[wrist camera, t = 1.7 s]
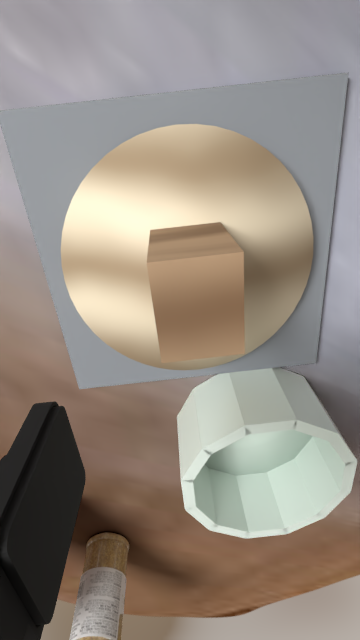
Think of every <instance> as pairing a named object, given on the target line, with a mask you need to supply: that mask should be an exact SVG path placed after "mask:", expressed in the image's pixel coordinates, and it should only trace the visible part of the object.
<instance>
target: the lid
mask: <svg viewBox="0 0 360 640" xmlns="http://www.w3.org/2000/svg"><path fill="white" fill-rule="evenodd" d="M312 258H313V230H312V222H311V218H310V214H309V210H308V206H307V204H306V201H305V199H304V196H303V194H302V192H301V189H300V188H299V186H298V185H297V183H296V181H295V180H294V178H293V176H292V175H291V174H290V172H289V171H288V170H287V169H286V167H285V166H284V165H283V164H282V163H281V161H279V160H278V159H277V158H276V157H275V156H274V155H273V154H272V153H270V152H269V151H268V150H267V149H266V148H264V147H263V146H261V145H260V144H258V143H256V142H255V141H253V140H252V139H250V138H248V137H245V136H243V135H241V134H239V133H237V132H234V131H231V130H227V129H224V128H220V127H217V126H210V125H201V124H178V125H171V126H166V127H161V128H156V129H153V130H150V131H147V132H144V133H142V134H139V135H137V136H135V137H133V138H131V139H129V140H127V141H125V142H123V143H122V144H120V145H119V146H117V147H116V148H115V149H113V150H112V151H110V152H109V153H108V154H106V155H105V156H104V157H103V158H102V159H101V160H100V161H99V162H98V163H97V164H96V165H95V166H94V167H93V168H92V169H91V170H90V172H89V173H88V174H87V176H86V177H85V178H84V180H83V181H82V182H81V184H80V185H79V187H78V189H77V191H76V193H75V195H74V196H73V198H72V200H71V203H70V206H69V208H68V211H67V214H66V217H65V221H64V226H63V230H62V239H61V263H62V270H63V275H64V280H65V284H66V286H67V289H68V292H69V295H70V298H71V300H72V302H73V304H74V306H75V308H76V310H77V311H78V313H79V314H80V316H81V317H82V319H83V320H84V322H85V323H86V324H87V325H88V326H89V328H90V329H91V330H92V331H93V332H94V333H95V334H96V335H97V336H98V337H99V338H100V339H101V340H102V341H103V342H105V343H106V344H107V345H109V346H110V347H111V348H113V349H114V350H116V351H117V352H119V353H121V354H123V355H124V356H126V357H128V358H130V359H132V360H135V361H137V362H140V363H142V364H146V365H149V366H153V367H157V368H163V369H169V370H199V369H205V368H211V367H215V366H218V365H222V364H225V363H228V362H231V361H233V360H236V359H238V358H240V357H242V356H244V355H246V354H248V353H250V352H251V351H253V350H254V349H256V348H257V347H259V346H260V345H262V344H263V343H264V342H266V341H267V340H268V339H269V338H270V337H271V336H273V335H274V334H275V333H276V332H277V331H278V330H279V328H280V327H281V326H282V325H283V324H284V323H285V322H286V320H287V319H288V318H289V316H290V315H291V314H292V312H293V311H294V309H295V307H296V306H297V304H298V302H299V300H300V299H301V296H302V294H303V292H304V289H305V287H306V285H307V281H308V278H309V274H310V271H311V265H312Z"/></svg>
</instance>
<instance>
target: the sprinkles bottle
mask: <svg viewBox="0 0 360 640" xmlns="http://www.w3.org/2000/svg"><path fill="white" fill-rule="evenodd" d="M128 551H129V543H128V541H127V539H126V538H124V537H123V536H121V535H118V534H115V533H101V534H97V535H95V536H93V537H91V538H90V539H89V541H88V543H87V545H86V557H85V563H84V569H83V574H82V576H81V580H80V585H79V591H78V596H77V602H76V607H75V613H74V619H73V624H72V629H71V635H70V640H121V629H122V619H123V614H124V602H125V590H126V568H127V556H128Z"/></svg>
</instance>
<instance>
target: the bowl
mask: <svg viewBox="0 0 360 640" xmlns="http://www.w3.org/2000/svg"><path fill="white" fill-rule="evenodd" d="M177 425H178V441H179V458H180V475H181V485H182V492H183V499H184V506H185V510H186V511H187V512H188V513H189V514H191V515H192V516H193V517H194V518H195V519H197V520H198V521H199V522H200V523H201V524H203V525H204V526H205V527H206V528H207V529H209V530H211V531H215V532H219V533H224V534H228V535H233V536H237V537H242V538H255V537H265V536H274V535H283V534H288V533H291V532H293V531H295V530H297V529H300V528H302V527H304V526H307V525H309V524H311V523H313V522H316V521H318V520H320V519H323V518H325V517H326V516H327V515H328V514H329V513H330V512H331V511H332V510H333V509H334V508H335V507H336V506H337V505H338V504H339V503H340V502H341V501H342V500H343V499H344V498H345V497H346V496H347V495H348V494H349V493H350V492H351V489H352V484H353V480H354V475H355V470H356V466H357V459H356V458H355V456H354V454H353V453H352V451H351V450H350V448H349V446H348V445H347V443H346V442H345V440H344V438H343V437H342V435H341V434H340V432H339V430H338V429H337V427H336V425H335V424H334V422H333V421H332V419H331V417H330V416H329V414H328V413H327V411H326V409H325V408H324V406H323V405H322V403H321V401H320V400H319V398H318V397H317V395H316V394H315V392H314V391H313V389H312V388H311V386H310V385H309V384H308V382H307V381H306V379H305V378H304V376H302V375H299V374H296V373H293V372H291V371H288V370H285V369H283V368H280V367H277V368H268V369H259V370H249V371H240V372H231V373H222V374H217V375H215V376H214V377H212V378H210V379H209V380H207V381H205V382H203V383H202V384H200V385H198V386H197V387H195V388H194V389H193V390H192V392H191V394H190V395H189V397H188V399H187V401H186V402H185V404H184V406H183V407H182V409H181V411H180V412H179V414H178V416H177Z"/></svg>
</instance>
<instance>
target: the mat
mask: <svg viewBox="0 0 360 640" xmlns="http://www.w3.org/2000/svg"><path fill="white" fill-rule="evenodd" d="M347 82H348V73H340V74H331V75H322V76H313V77H304V78H294V79H285V80H276V81H267V82H258V83H249V84H239V85H230V86H221V87H212V88H203V89H194V90H184V91H175V92H166V93H157V94H148V95H139V96H130V97H120V98H111V99H102V100H93V101H84V102H75V103H65V104H56V105H47V106H38V107H29V108H20V109H10V110H1V111H0V125H1V128H2V132H3V135H4V138H5V142H6V145H7V148H8V152H9V155H10V158H11V162H12V165H13V169H14V172H15V175H16V179H17V182H18V185H19V189H20V192H21V195H22V199H23V202H24V205H25V209H26V212H27V215H28V219H29V222H30V225H31V229H32V232H33V235H34V239H35V242H36V245H37V249H38V252H39V255H40V259H41V262H42V265H43V269H44V272H45V276H46V279H47V282H48V286H49V289H50V292H51V296H52V299H53V302H54V306H55V309H56V312H57V316H58V319H59V322H60V326H61V329H62V332H63V336H64V339H65V342H66V346H67V349H68V352H69V356H70V359H71V362H72V366H73V369H74V373H75V376H76V379H77V383H78V386H79V389H85V388H94V387H103V386H113V385H122V384H131V383H140V382H149V381H158V380H167V379H176V378H186V377H195V376H204V375H213V374H222V373H231V372H240V371H249V370H259V369H268V368H277V367H286V366H295V365H304V364H313V363H316V360H317V351H318V342H319V333H320V324H321V315H322V306H323V297H324V288H325V279H326V270H327V261H328V252H329V244H330V235H331V226H332V217H333V208H334V199H335V190H336V181H337V172H338V163H339V154H340V145H341V136H342V127H343V118H344V109H345V100H346V91H347ZM178 124H201V125H210V126H217V127H220V128H224V129H227V130H231V131H234V132H237V133H239V134H241V135H243V136H245V137H248V138H250V139H252V140H253V141H255V142H256V143H258V144H260V145H261V146H263V147H264V148H266V149H267V150H268V151H269V152H270V153H272V154H273V155H274V156H275V157H276V158H277V159H278V160H279V161H281V163H282V164H283V165H284V166H285V167H286V169H287V170H288V171H289V172H290V174H291V175H292V176H293V178H294V180H295V181H296V183H297V185H298V186H299V188H300V189H301V192H302V194H303V196H304V199H305V201H306V204H307V206H308V210H309V214H310V218H311V222H312V230H313V258H312V265H311V271H310V274H309V278H308V281H307V285H306V287H305V289H304V292H303V294H302V296H301V299H300V300H299V302H298V304H297V306H296V307H295V309H294V311H293V312H292V314H291V315H290V316H289V318H288V319H287V320H286V322H285V323H284V324H283V325H282V326H281V327H280V328H279V330H278V331H277V332H276V333H275V334H274V335H273V336H271V337H270V338H269V339H268V340H267V341H266V342H264V343H263V344H262V345H260V346H259V347H257V348H256V349H254V350H253V351H251V352H250V353H248V354H246V355H244V356H242V357H240V358H238V359H236V360H233V361H231V362H228V363H225V364H222V365H218V366H215V367H211V368H205V369H199V370H169V369H163V368H157V367H153V366H149V365H146V364H142V363H140V362H137V361H135V360H132V359H130V358H128V357H126V356H124V355H123V354H121V353H119V352H117V351H116V350H114V349H113V348H111V347H110V346H109V345H107V344H106V343H105V342H103V341H102V340H101V339H100V338H99V337H98V336H97V335H96V334H95V333H94V332H93V331H92V330H91V329H90V328H89V326H88V325H87V324H86V323H85V322H84V320H83V319H82V317H81V316H80V314H79V313H78V311H77V310H76V308H75V306H74V304H73V302H72V300H71V298H70V295H69V292H68V289H67V286H66V284H65V280H64V275H63V270H62V263H61V239H62V230H63V226H64V221H65V217H66V214H67V211H68V208H69V206H70V203H71V200H72V198H73V196H74V195H75V193H76V191H77V189H78V187H79V185H80V184H81V182H82V181H83V180H84V178H85V177H86V176H87V174H88V173H89V172H90V170H91V169H92V168H93V167H94V166H95V165H96V164H97V163H98V162H99V161H100V160H101V159H102V158H103V157H104V156H105V155H106V154H108V153H109V152H110V151H112V150H113V149H115V148H116V147H117V146H119V145H120V144H122V143H123V142H125V141H127V140H129V139H131V138H133V137H135V136H137V135H139V134H142V133H144V132H147V131H150V130H153V129H156V128H161V127H166V126H171V125H178Z"/></svg>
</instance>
